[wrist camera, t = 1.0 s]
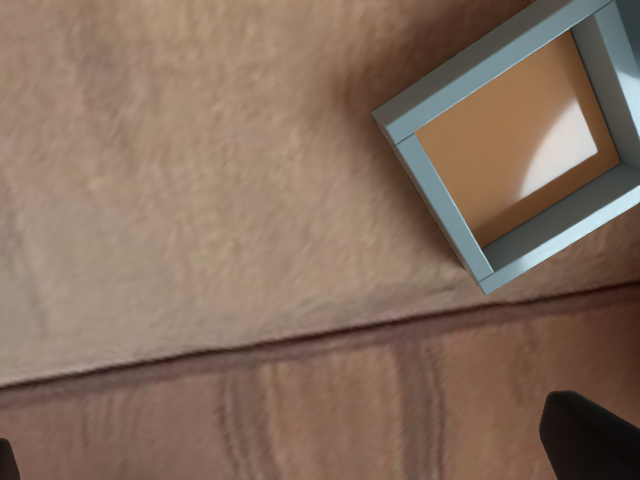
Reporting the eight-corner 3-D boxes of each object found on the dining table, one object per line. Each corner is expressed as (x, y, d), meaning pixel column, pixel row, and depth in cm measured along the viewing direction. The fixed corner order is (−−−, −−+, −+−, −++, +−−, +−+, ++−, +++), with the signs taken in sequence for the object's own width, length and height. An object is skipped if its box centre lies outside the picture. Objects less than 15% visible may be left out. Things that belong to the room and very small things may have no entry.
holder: (809, 58, 22) (868, 65, 20) (465, 270, 24) (485, 296, 22) (770, -159, 18) (837, -178, 16) (370, 112, 21) (384, 126, 19)
